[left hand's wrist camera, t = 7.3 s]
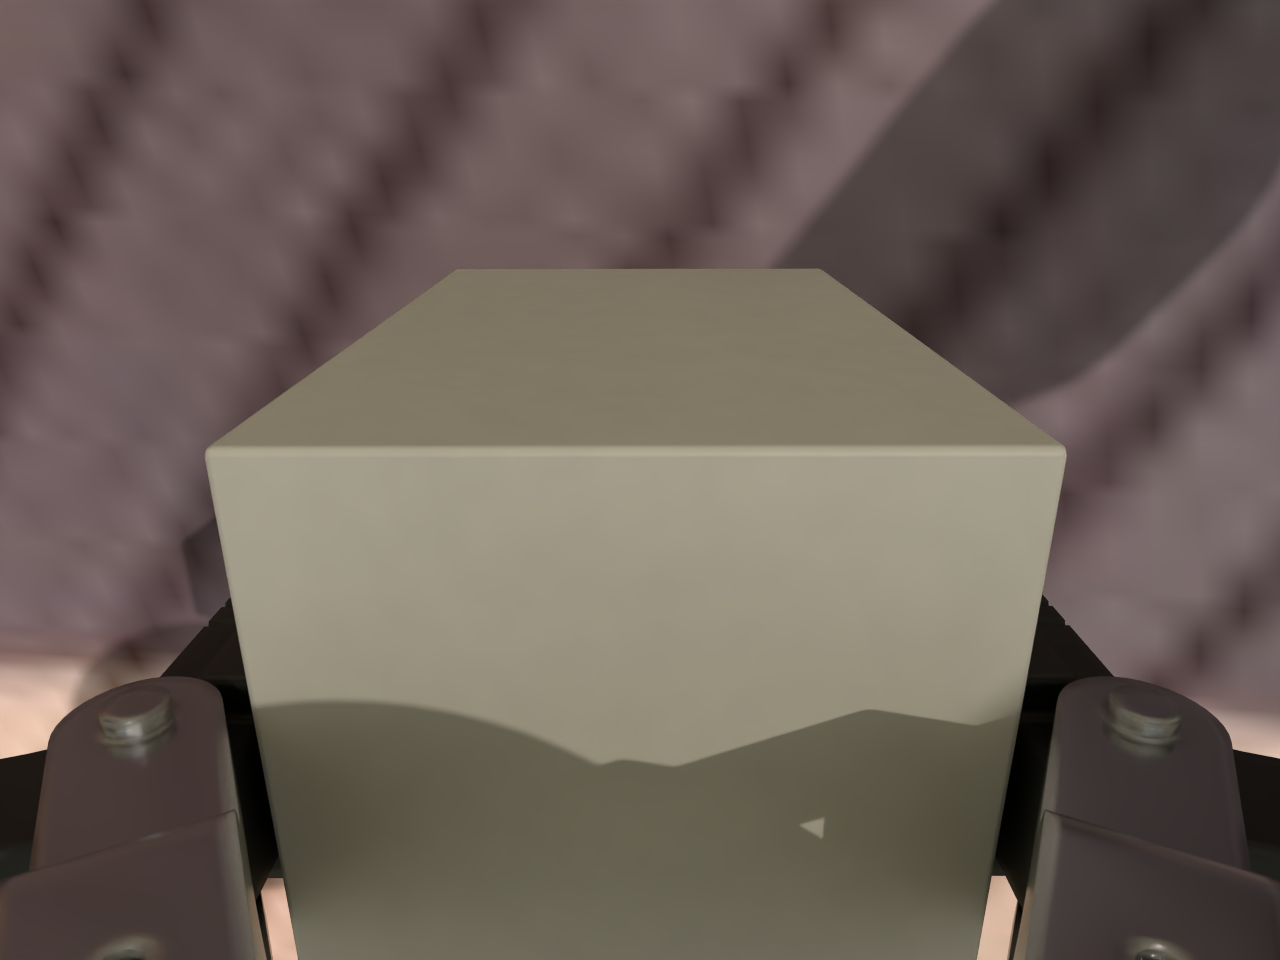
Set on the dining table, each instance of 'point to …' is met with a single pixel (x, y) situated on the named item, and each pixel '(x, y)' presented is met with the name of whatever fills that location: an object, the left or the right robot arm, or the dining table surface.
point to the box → (636, 623)
